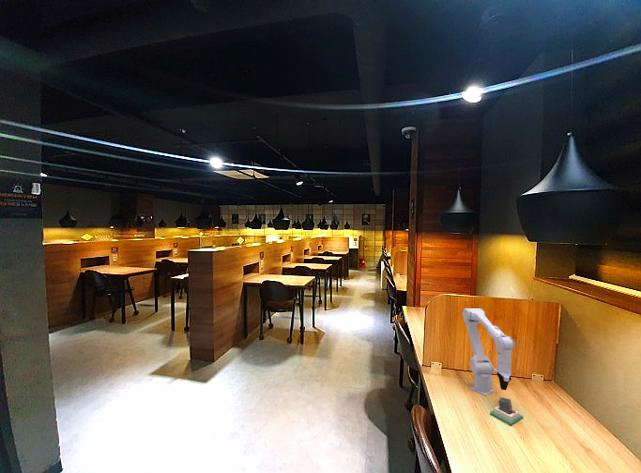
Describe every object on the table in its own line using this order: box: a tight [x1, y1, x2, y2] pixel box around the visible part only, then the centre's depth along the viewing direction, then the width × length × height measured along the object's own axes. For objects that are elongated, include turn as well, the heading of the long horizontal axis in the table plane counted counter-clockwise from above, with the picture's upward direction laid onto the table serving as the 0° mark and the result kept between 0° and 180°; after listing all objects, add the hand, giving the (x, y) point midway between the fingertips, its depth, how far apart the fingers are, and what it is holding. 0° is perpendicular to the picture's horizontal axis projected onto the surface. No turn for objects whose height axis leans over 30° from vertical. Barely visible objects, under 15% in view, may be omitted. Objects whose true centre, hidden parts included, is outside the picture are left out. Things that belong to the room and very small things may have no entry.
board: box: [489, 409, 524, 427], centre depth 128 cm, size 11×9×1 cm
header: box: [493, 405, 520, 421], centre depth 128 cm, size 7×7×2 cm
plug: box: [498, 397, 517, 415], centre depth 128 cm, size 4×6×6 cm
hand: (503, 389), depth 135 cm, fingers closed
